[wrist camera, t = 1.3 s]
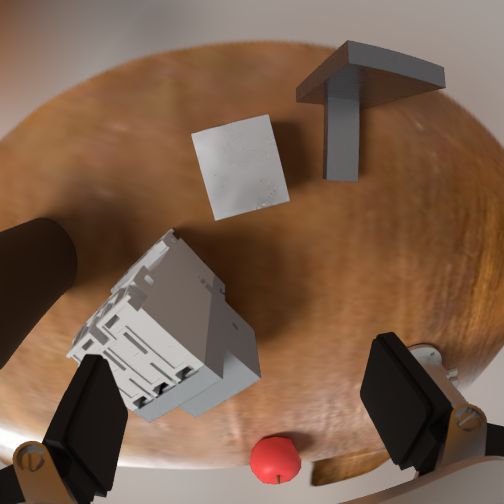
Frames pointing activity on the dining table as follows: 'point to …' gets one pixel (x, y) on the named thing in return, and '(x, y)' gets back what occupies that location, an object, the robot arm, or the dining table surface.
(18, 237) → the olive oil
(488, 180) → the dining table surface
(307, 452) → the dining table surface
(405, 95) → the grey l-shaped bracket part
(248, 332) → the circuit breaker
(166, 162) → the dining table surface
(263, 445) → the apple
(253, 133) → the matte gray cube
